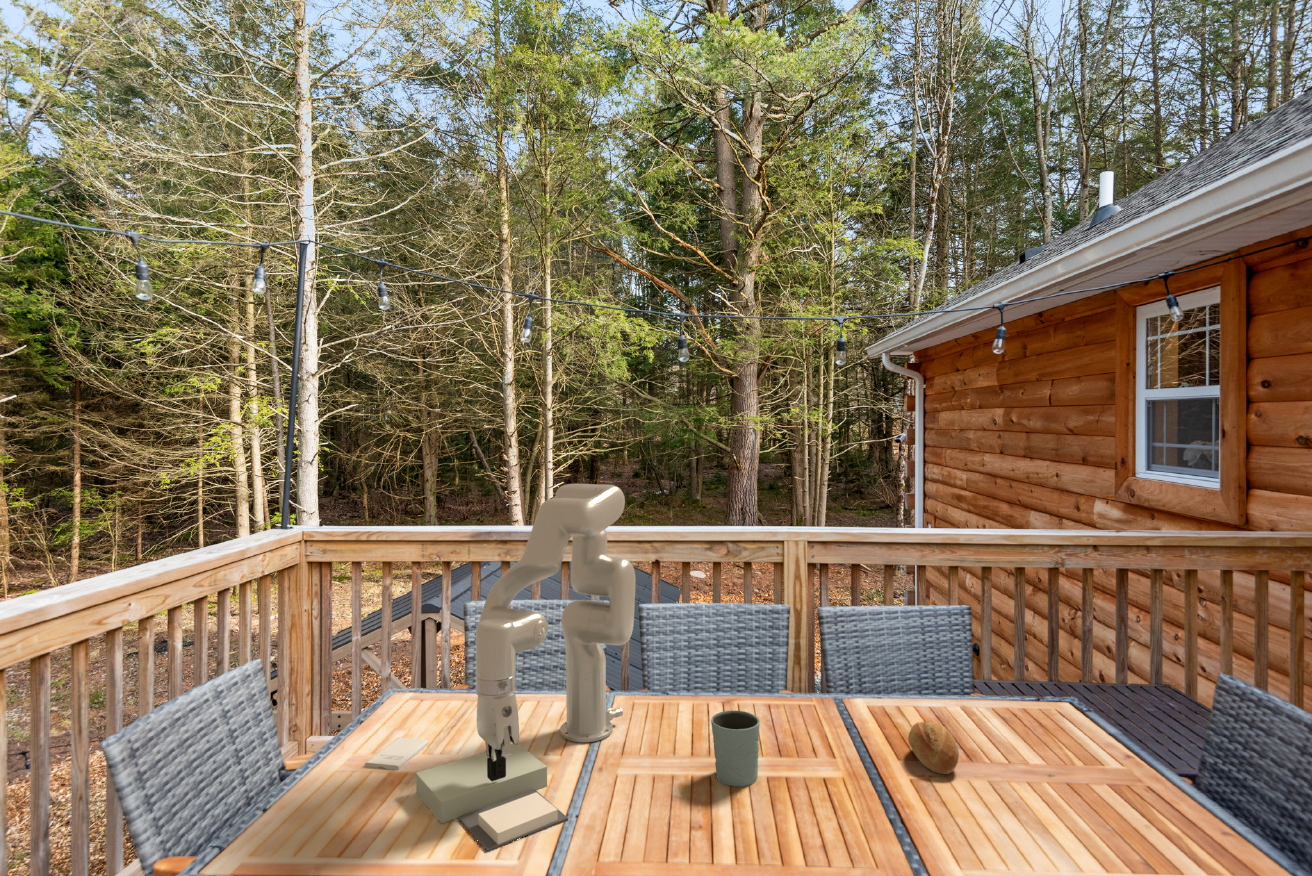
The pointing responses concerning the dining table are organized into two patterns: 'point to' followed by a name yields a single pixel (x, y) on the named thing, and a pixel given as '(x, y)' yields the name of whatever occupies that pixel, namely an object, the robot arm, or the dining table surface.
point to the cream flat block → (517, 817)
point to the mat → (484, 839)
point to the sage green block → (477, 783)
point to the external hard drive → (397, 753)
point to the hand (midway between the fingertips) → (496, 777)
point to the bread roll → (934, 747)
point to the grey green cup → (736, 747)
